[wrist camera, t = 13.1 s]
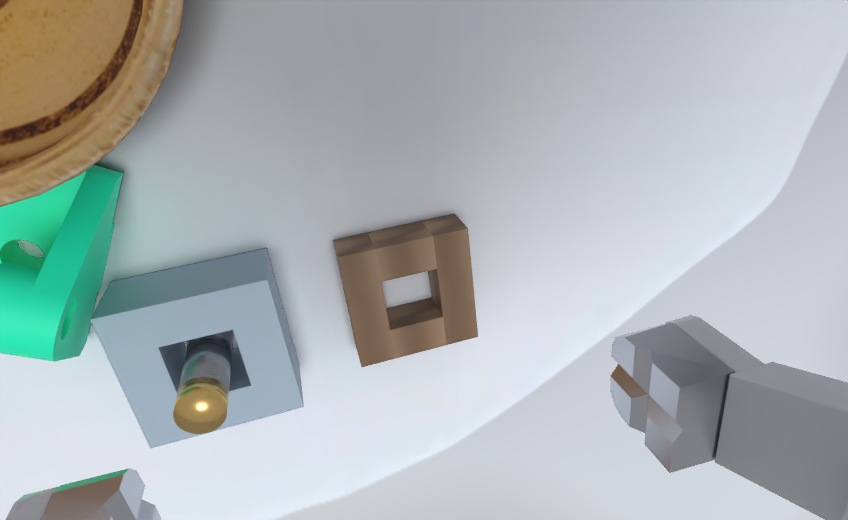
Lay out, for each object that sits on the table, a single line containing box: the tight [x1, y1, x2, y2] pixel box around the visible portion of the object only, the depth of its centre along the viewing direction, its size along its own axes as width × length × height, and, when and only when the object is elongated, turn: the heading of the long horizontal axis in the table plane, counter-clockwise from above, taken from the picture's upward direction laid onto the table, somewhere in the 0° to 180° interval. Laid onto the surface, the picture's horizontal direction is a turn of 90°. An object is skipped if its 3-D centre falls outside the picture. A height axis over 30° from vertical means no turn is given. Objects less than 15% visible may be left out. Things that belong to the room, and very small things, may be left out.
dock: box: [90, 248, 304, 448], centre depth 36 cm, size 10×10×5 cm
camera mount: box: [0, 165, 123, 361], centre depth 29 cm, size 12×8×10 cm, turn 158°
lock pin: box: [173, 330, 234, 434], centre depth 34 cm, size 3×3×10 cm
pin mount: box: [333, 214, 478, 367], centre depth 40 cm, size 9×9×3 cm
